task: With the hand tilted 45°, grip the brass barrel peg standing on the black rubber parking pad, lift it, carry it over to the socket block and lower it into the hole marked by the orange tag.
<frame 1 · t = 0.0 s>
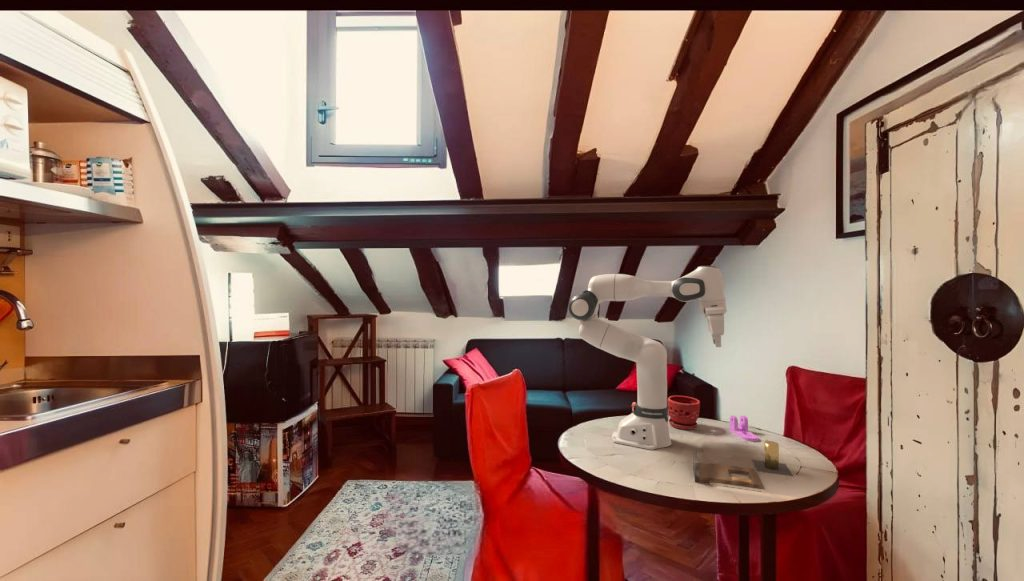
hand: (717, 345, 157), 39 cm above the table, tool pointing down, fingers open, 8 cm apart
socket block: (725, 478, 133), on the table
brass peg: (771, 467, 139), point 1 cm above the table, touching parking pad
bracket: (744, 436, 172), on the table
plant pot: (683, 427, 184), on the table
parking pad: (771, 470, 139), on the table
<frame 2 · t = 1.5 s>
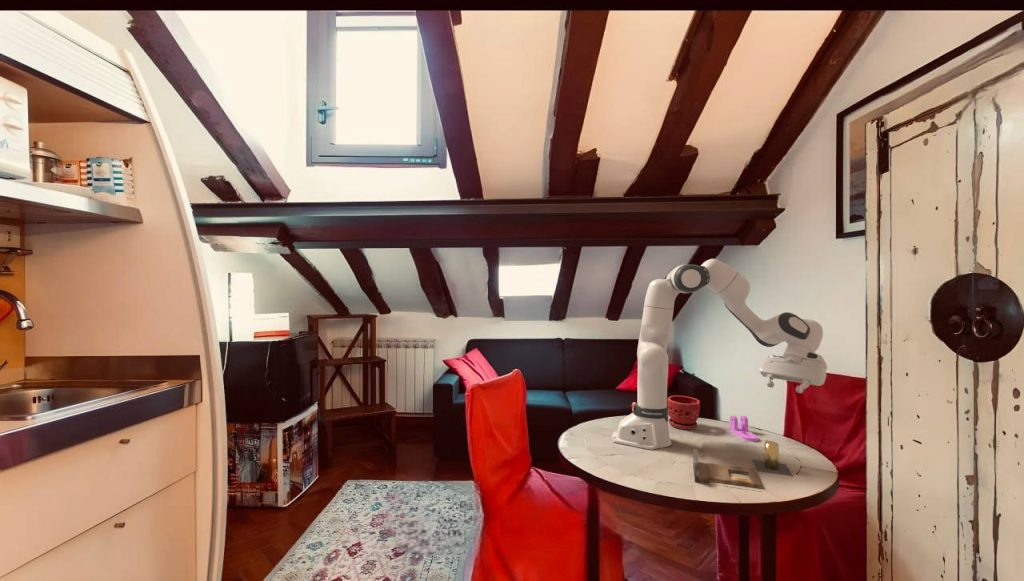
hand: (783, 388, 147), 25 cm above the table, tool tilted 45°, fingers open, 8 cm apart
nothing on the table moved.
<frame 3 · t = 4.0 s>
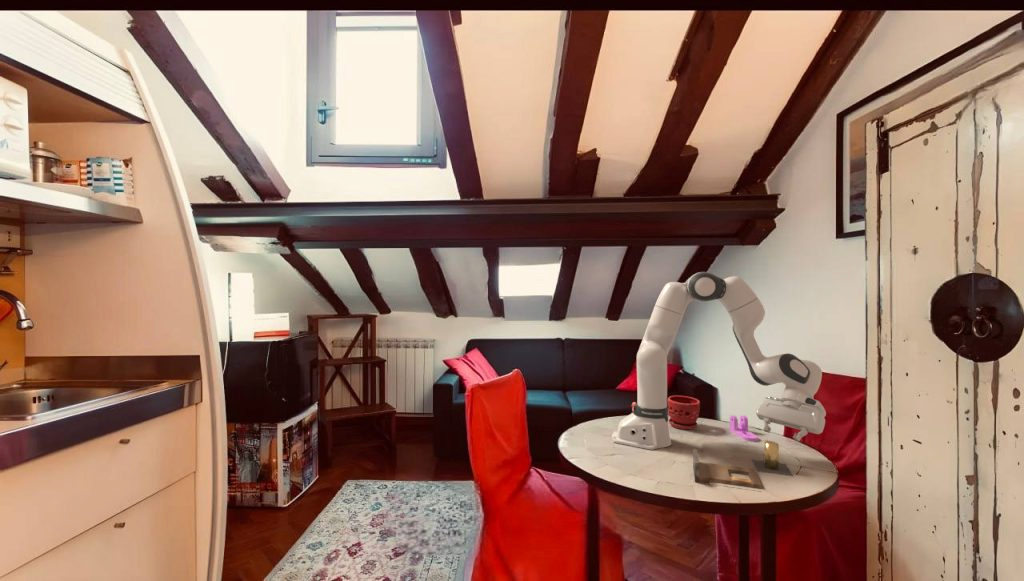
hand: (780, 435, 142), 10 cm above the table, tool tilted 45°, fingers open, 8 cm apart
nothing on the table moved.
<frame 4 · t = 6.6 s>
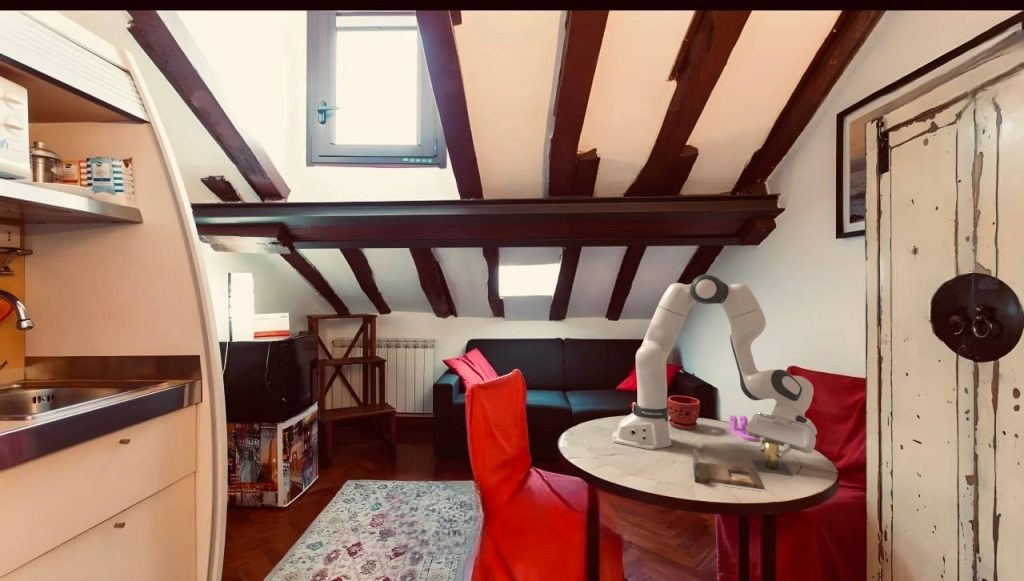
hand: (770, 453, 139), 6 cm above the table, tool tilted 45°, fingers closed on brass peg, 4 cm apart
brass peg: (771, 467, 139), point 1 cm above the table, touching gripper, parking pad
everything else where it was.
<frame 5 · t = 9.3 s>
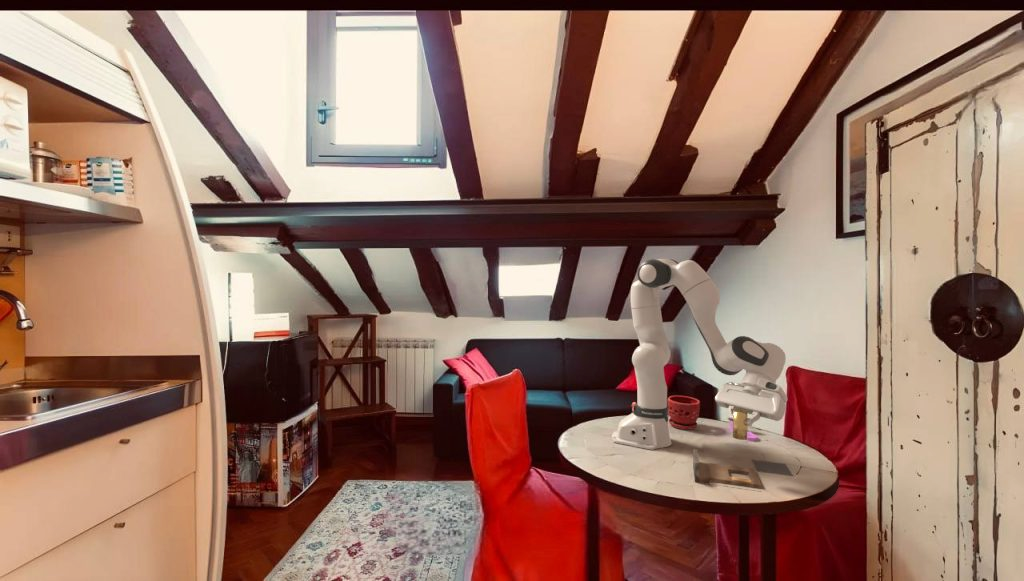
hand: (738, 422, 132), 18 cm above the table, tool tilted 45°, fingers closed on brass peg, 4 cm apart
brass peg: (739, 437, 132), point 13 cm above the table, touching gripper
everything else where it was.
when the fingers open (6 cm above the table, at t = 12.2 s): brass peg stays where it is, resting in socket block.
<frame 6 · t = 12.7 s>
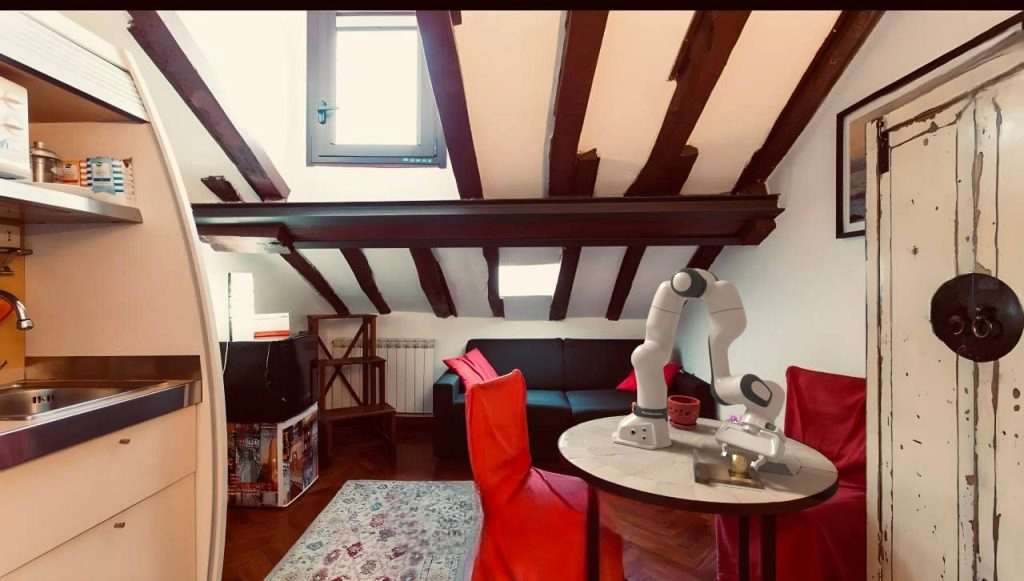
hand: (738, 463, 131), 6 cm above the table, tool tilted 45°, fingers open, 8 cm apart
brass peg: (739, 480, 132), resting in socket block
everything else where it was.
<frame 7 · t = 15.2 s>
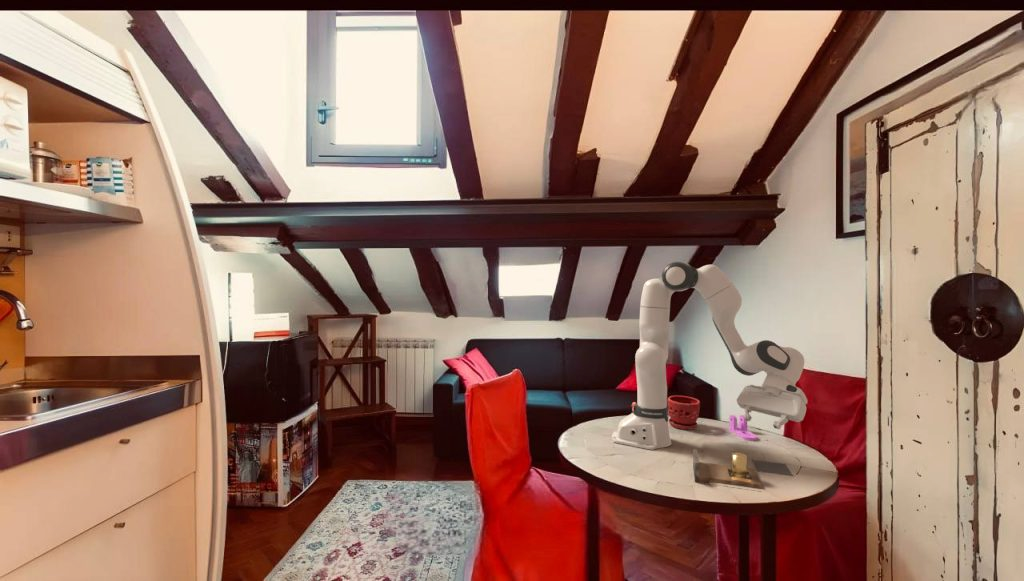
hand: (761, 423, 138), 16 cm above the table, tool tilted 45°, fingers open, 8 cm apart
nothing on the table moved.
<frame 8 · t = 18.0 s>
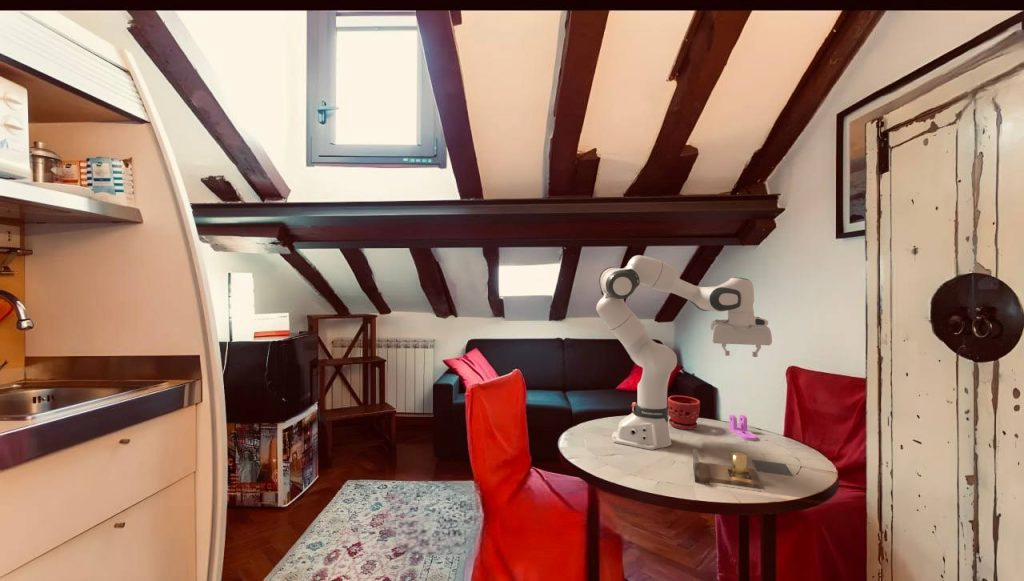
hand: (740, 356, 161), 34 cm above the table, tool pointing down, fingers open, 8 cm apart
nothing on the table moved.
at the end: brass peg 0.0 cm from the target spot on the socket block, point 0.0 cm above the socket block's base; brass peg tilted 0°; the gripper is holding nothing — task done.
